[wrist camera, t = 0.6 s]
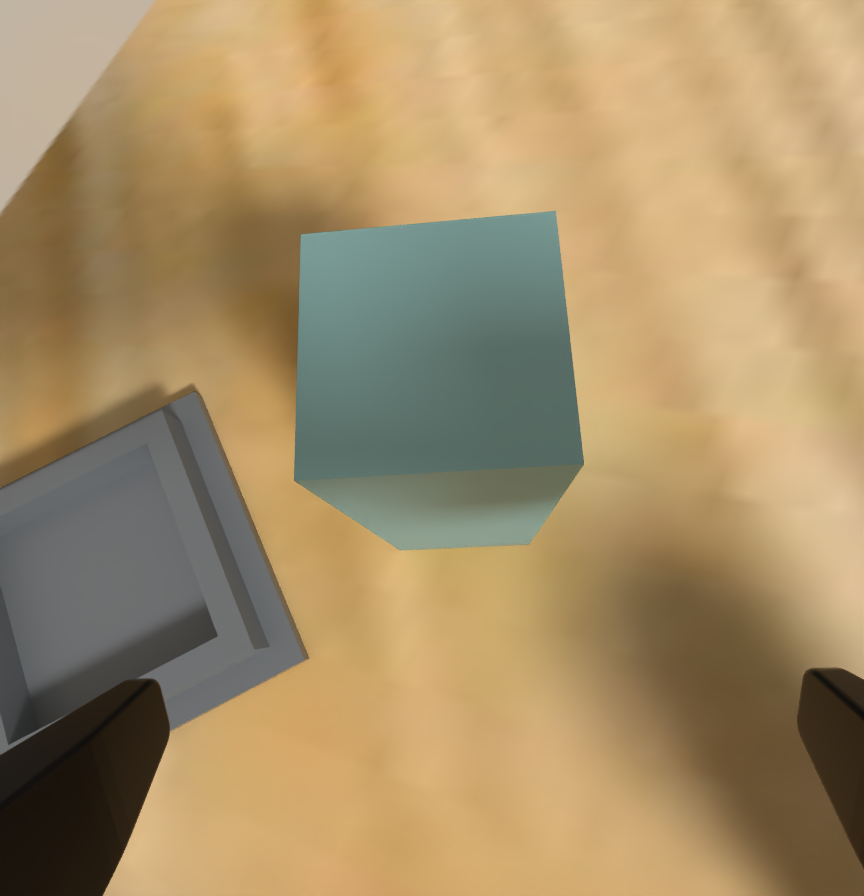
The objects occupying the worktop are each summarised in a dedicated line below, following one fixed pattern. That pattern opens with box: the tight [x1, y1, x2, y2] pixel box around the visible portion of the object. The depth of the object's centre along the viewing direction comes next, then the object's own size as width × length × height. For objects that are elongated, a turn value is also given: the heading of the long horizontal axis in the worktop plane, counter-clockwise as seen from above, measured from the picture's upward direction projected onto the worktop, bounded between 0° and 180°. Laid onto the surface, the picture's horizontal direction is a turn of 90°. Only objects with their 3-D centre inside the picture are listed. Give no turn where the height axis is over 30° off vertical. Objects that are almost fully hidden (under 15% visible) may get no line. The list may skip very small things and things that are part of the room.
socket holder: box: [0, 391, 309, 755], centre depth 22 cm, size 12×12×2 cm
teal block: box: [294, 211, 584, 550], centre depth 17 cm, size 5×5×13 cm
